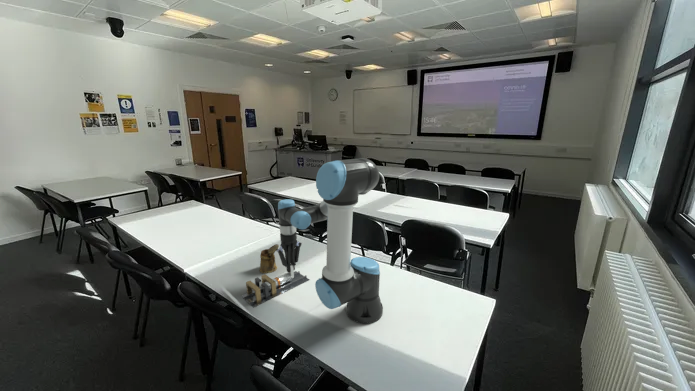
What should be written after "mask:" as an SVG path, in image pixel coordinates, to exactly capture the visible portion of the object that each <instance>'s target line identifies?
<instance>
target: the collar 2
mask: <svg viewBox="0 0 695 391" xmlns="http://www.w3.org/2000/svg"><path fill="white" fill-rule="evenodd" d="M260 279H261V284H262V283H264V282H268V283H270V284H271V295H272V296H274V295H276V294H277V293H276V282H275V281H274V280H272V279H273V278H272V277H270V276H268V275H267V273H263V275H261V277H260Z"/></svg>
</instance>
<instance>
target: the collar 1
mask: <svg viewBox="0 0 695 391" xmlns="http://www.w3.org/2000/svg"><path fill="white" fill-rule="evenodd" d="M245 286H246V293H247V294H250V293H252V291H253V290H254V291H255V297H256V303H257V304H258V303H260V302H262V301H261V291H260V288H259V287H258V286H256V285H255V283H254V282H253V281H251V280H248V281H246V282H245Z"/></svg>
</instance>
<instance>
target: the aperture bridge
mask: <svg viewBox="0 0 695 391" xmlns="http://www.w3.org/2000/svg"><path fill="white" fill-rule="evenodd" d="M254 282H255V283H254V284H255V285H256V286H258V287H259V288H260V287H261V285H262V286H263V287H264V293H265V299H268V298H269V290H268V285H267V284H266V283H265V282H264V283H262V279H261V278H259V277H256V278H254Z"/></svg>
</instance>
